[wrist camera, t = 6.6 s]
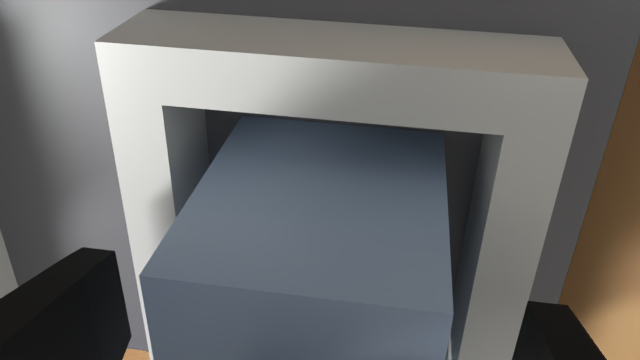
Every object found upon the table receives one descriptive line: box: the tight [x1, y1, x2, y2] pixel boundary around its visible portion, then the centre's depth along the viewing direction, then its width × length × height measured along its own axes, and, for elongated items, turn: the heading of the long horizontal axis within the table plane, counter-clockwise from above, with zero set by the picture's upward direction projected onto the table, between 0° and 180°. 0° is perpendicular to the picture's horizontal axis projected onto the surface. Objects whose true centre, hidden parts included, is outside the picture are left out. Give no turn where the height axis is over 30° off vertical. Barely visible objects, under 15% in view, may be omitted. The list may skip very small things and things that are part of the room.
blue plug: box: [139, 116, 454, 360], centre depth 10 cm, size 5×4×7 cm
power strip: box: [0, 0, 640, 360], centre depth 13 cm, size 10×24×4 cm, turn 89°
